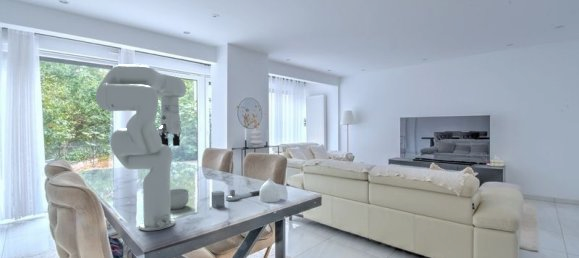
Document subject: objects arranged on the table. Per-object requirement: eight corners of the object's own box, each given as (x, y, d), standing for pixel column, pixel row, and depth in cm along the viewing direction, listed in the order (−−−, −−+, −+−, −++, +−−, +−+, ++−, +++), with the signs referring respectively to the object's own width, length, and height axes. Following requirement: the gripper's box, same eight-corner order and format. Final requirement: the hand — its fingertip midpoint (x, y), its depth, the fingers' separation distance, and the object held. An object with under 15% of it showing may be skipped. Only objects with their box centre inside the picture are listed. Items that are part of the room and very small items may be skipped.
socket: (224, 206, 134) (224, 191, 134) (216, 208, 131) (215, 193, 131) (220, 204, 138) (219, 190, 138) (211, 206, 135) (211, 192, 135)
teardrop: (255, 201, 143) (255, 178, 143) (263, 196, 154) (263, 174, 154) (276, 202, 140) (275, 178, 140) (282, 197, 150) (282, 175, 150)
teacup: (192, 204, 139) (192, 188, 139) (182, 210, 128) (182, 193, 128) (166, 204, 140) (165, 188, 140) (153, 210, 129) (153, 193, 129)
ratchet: (265, 194, 158) (265, 185, 158) (230, 202, 143) (229, 192, 143) (258, 192, 163) (258, 184, 163) (223, 199, 148) (223, 190, 148)
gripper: (167, 108, 121) (167, 147, 121) (186, 110, 138) (187, 145, 138) (151, 108, 122) (151, 147, 122) (172, 111, 139) (173, 145, 139)
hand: (170, 146), depth 130 cm, fingers open, 9 cm apart
